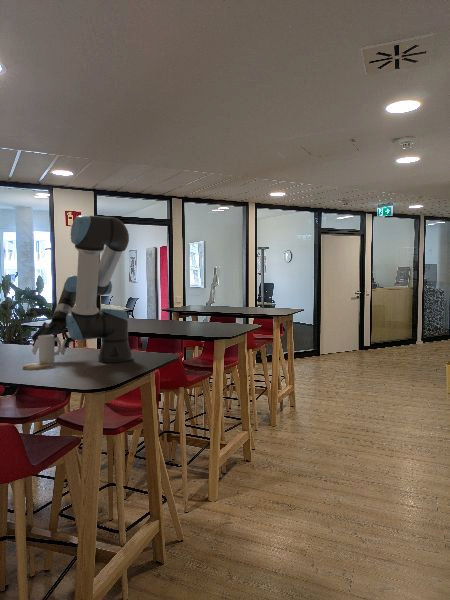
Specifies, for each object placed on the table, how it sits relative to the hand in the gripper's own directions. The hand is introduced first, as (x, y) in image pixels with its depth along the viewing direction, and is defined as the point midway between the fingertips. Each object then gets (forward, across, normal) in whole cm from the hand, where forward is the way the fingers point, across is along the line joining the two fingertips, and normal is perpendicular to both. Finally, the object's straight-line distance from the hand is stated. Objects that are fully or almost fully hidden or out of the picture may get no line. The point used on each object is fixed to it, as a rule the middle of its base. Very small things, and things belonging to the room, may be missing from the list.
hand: (47, 353), depth 204 cm
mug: (+2, 0, -5) cm, 5 cm away
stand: (+9, +1, +3) cm, 10 cm away
